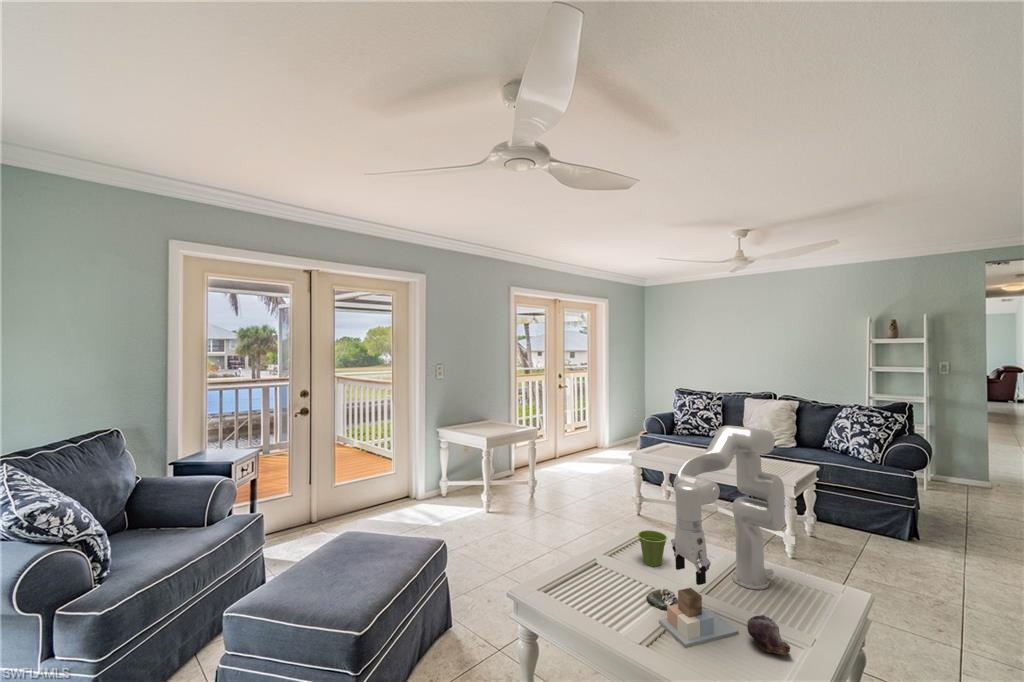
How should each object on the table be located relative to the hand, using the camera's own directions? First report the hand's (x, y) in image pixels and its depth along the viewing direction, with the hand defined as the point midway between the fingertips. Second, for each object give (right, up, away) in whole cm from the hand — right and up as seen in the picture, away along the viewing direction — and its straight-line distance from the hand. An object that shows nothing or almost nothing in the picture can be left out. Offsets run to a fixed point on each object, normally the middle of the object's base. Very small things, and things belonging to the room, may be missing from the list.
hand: (690, 576), depth 146 cm
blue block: (+3, -16, -2) cm, 16 cm away
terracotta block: (-4, -16, +1) cm, 16 cm away
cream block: (-2, -16, -4) cm, 16 cm away
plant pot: (+2, -18, +45) cm, 48 cm away
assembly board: (+2, -17, 0) cm, 17 cm away
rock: (+19, -17, -9) cm, 27 cm away
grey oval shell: (-4, -18, +16) cm, 24 cm away
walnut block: (0, -11, -1) cm, 11 cm away
